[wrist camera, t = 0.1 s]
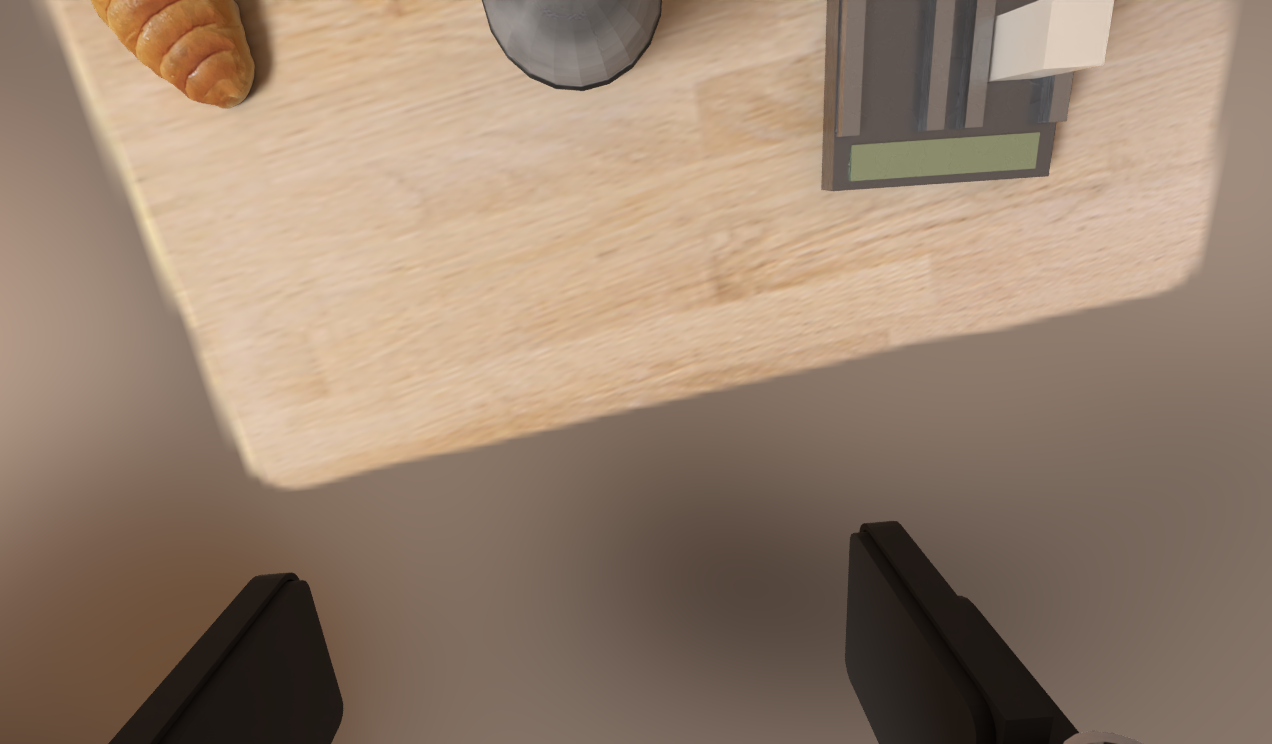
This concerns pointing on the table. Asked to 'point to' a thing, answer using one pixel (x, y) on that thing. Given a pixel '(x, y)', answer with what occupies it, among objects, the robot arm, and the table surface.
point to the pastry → (187, 44)
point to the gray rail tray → (929, 97)
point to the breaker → (1049, 39)
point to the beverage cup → (573, 38)
